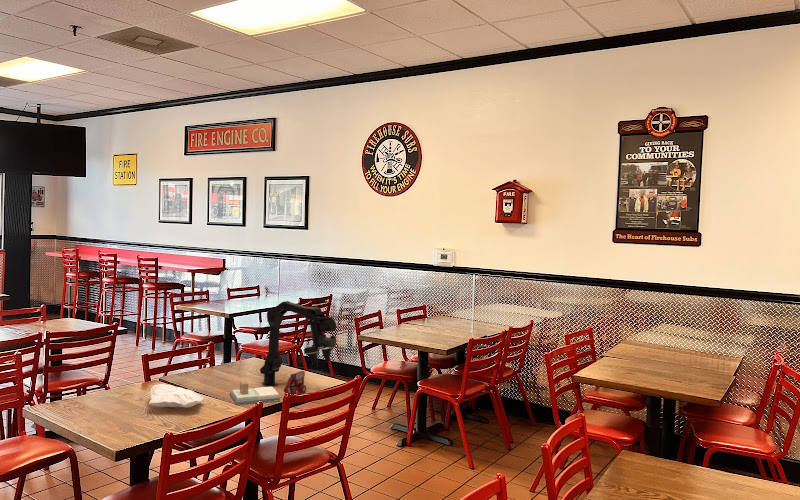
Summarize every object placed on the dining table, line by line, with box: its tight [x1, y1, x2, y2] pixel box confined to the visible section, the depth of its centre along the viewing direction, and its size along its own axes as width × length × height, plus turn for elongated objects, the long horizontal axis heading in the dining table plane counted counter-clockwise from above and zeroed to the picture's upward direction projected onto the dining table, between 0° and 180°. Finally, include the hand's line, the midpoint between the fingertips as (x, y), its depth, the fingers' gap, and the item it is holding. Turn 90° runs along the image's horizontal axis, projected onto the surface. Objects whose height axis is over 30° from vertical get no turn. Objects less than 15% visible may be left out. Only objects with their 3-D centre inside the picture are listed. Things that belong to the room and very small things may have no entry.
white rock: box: [148, 383, 205, 409], centre depth 280 cm, size 24×35×9 cm
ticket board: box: [229, 386, 281, 406], centre depth 297 cm, size 18×20×3 cm
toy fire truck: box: [283, 370, 307, 395], centre depth 306 cm, size 7×12×10 cm, turn 148°
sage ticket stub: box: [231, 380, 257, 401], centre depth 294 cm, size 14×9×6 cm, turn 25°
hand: (322, 364), depth 303 cm, fingers open, 9 cm apart
